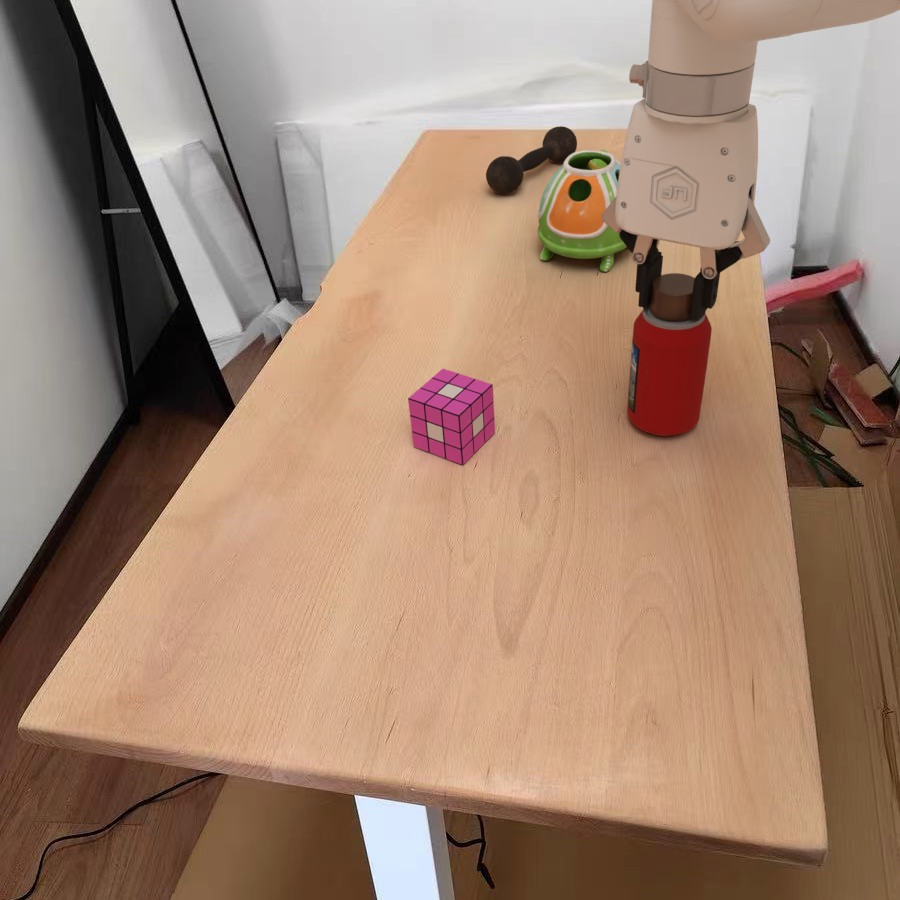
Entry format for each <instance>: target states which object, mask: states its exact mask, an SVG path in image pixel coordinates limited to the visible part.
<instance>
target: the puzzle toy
mask: <svg viewBox="0 0 900 900" xmlns="http://www.w3.org/2000/svg"><path fill="white" fill-rule="evenodd" d="M407 403H408V411H409V419H410V427H411V438H412V444H413V447H414V448H416V449H419V450H422V451H424V452H428V453H430V454H433V455H435V456H437V457H440V458H442V459H446V460H448V461H451V462H454V463H456V464H458V465H461V466H463V465H465V464H466V463H467V462H468V461H469V459H470V458H472V456H474V454H476V453H477V451H478V450H480V448H481V447H483V446H484V444H485V443H486V442H488V441H489V439H491V437H492V436H493V435H494V434H495V433H496V426H495V403H494V384H493V383H490V382H487V381H483V380H481V379H478V378H474V377H471V376H468V375H465V374H461V373H458V372H456V371H452V370H449V369H446V368H442V369H441V370H439V371H438V372H437V373H435V374H434V375H433V376H432V377H430V379H429V380H428V381H426V382H425V383H424V384H423V385H422V386H421V387H419V388H418V389H417V390H416V391H415V392H413V394H411V395H410V396H409V397H408V398H407Z"/></svg>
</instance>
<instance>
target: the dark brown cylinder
mask: <svg viewBox="0 0 900 900" xmlns="http://www.w3.org/2000/svg"><path fill="white" fill-rule="evenodd" d="M694 279H695V277H694V276H692V275H689V274H685V273H678V272H676V273H675V272H674V273H673V272H671V273H664V274H661V276H659V277H657V278H656V279H655V280H654V281H653V283H652V293H651V305H650V310H651V312H652V314H653V315H655V316H656V317H658V318H660V319H664V320H668V321H683V320H687V319H690V318H691V317H690V309H691V301H692V293H693V285H694Z"/></svg>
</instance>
